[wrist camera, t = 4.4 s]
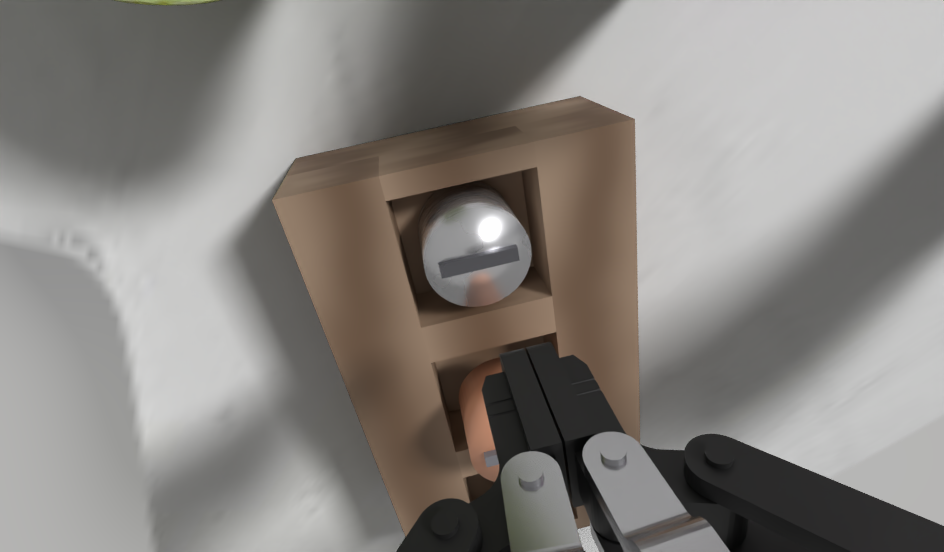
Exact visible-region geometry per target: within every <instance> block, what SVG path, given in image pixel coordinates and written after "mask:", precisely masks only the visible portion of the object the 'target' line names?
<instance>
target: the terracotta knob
mask: <svg viewBox="0 0 944 552" xmlns="http://www.w3.org/2000/svg"><path fill="white" fill-rule="evenodd" d="M500 372H502V367H501V362H500V357H499V358H495V359H492V360H489V361H486V362H484V363H482V364H480V365H479V366H477V367H476V368H474V369H473V370H472V371H471V372H470V373H469V374H468V375H467V376H466V378H465V379H464V381H463V382H462V384H461V387H460V390H459V404H460V409H461V414H462V419H463V424H464V429H465V434H466V439H467V444H468V449H469V454H470V459H471V462H472V465H473V467H474V469H475V470H476V471H477V472H478V473H479V474H480V475H481V476H483V477H484V478H486V479H488V480H490V481H494V482H495V481H496V479H497V476H498V473H499V462H498V458H497V454H496V450H495V445H494V441H493V437H492V433H491V429H490V425H489V420H488V416H487V412H486V407H485V403H484V399H483V394H482V387H483V384H484V380H485V377H486V376H488V375H492V374H496V373H500Z"/></svg>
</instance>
